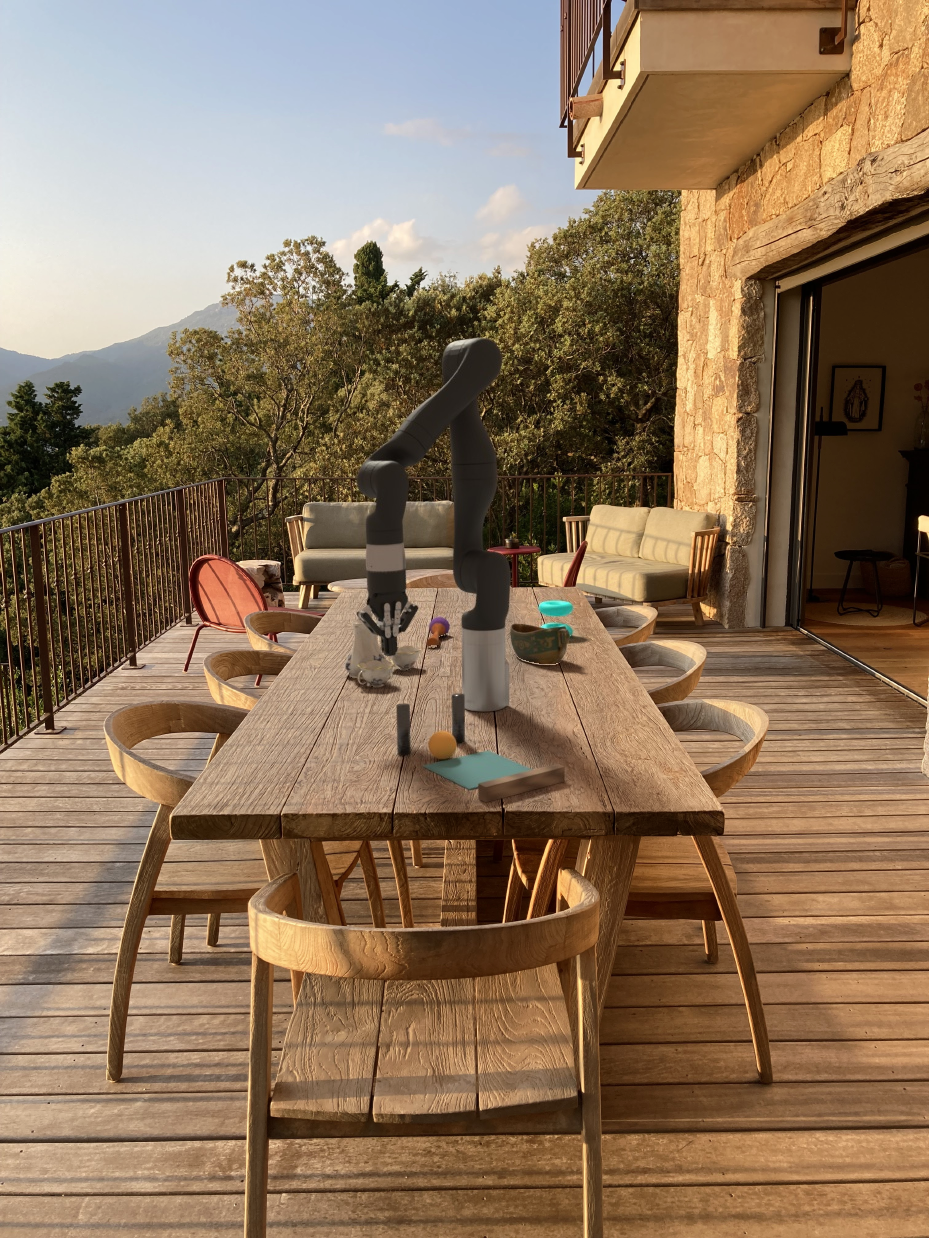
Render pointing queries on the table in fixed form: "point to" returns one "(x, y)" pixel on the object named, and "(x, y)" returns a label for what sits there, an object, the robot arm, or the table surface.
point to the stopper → (521, 782)
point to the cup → (539, 643)
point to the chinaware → (375, 657)
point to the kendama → (437, 630)
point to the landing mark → (476, 768)
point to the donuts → (556, 612)
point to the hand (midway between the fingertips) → (389, 655)
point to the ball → (442, 745)
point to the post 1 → (403, 729)
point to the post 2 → (458, 717)
